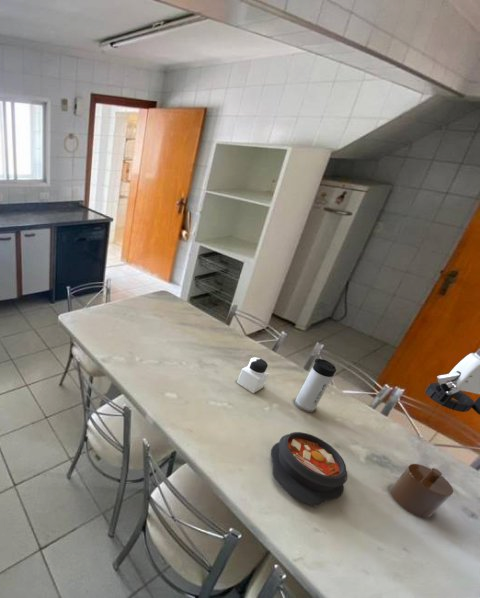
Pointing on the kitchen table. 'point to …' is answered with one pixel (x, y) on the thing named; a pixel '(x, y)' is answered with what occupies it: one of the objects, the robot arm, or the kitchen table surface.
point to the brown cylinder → (421, 490)
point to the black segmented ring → (461, 404)
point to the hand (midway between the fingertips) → (457, 406)
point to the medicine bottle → (254, 375)
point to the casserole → (308, 468)
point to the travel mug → (315, 385)
